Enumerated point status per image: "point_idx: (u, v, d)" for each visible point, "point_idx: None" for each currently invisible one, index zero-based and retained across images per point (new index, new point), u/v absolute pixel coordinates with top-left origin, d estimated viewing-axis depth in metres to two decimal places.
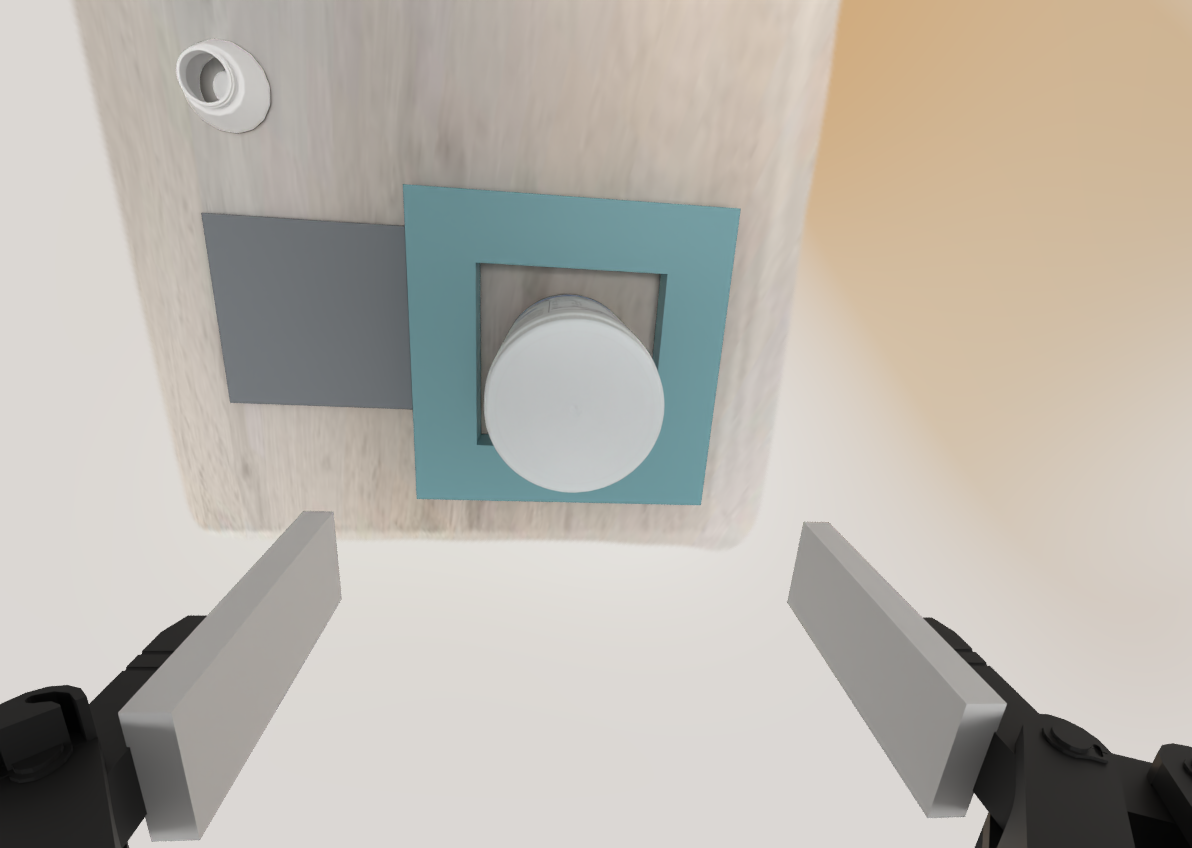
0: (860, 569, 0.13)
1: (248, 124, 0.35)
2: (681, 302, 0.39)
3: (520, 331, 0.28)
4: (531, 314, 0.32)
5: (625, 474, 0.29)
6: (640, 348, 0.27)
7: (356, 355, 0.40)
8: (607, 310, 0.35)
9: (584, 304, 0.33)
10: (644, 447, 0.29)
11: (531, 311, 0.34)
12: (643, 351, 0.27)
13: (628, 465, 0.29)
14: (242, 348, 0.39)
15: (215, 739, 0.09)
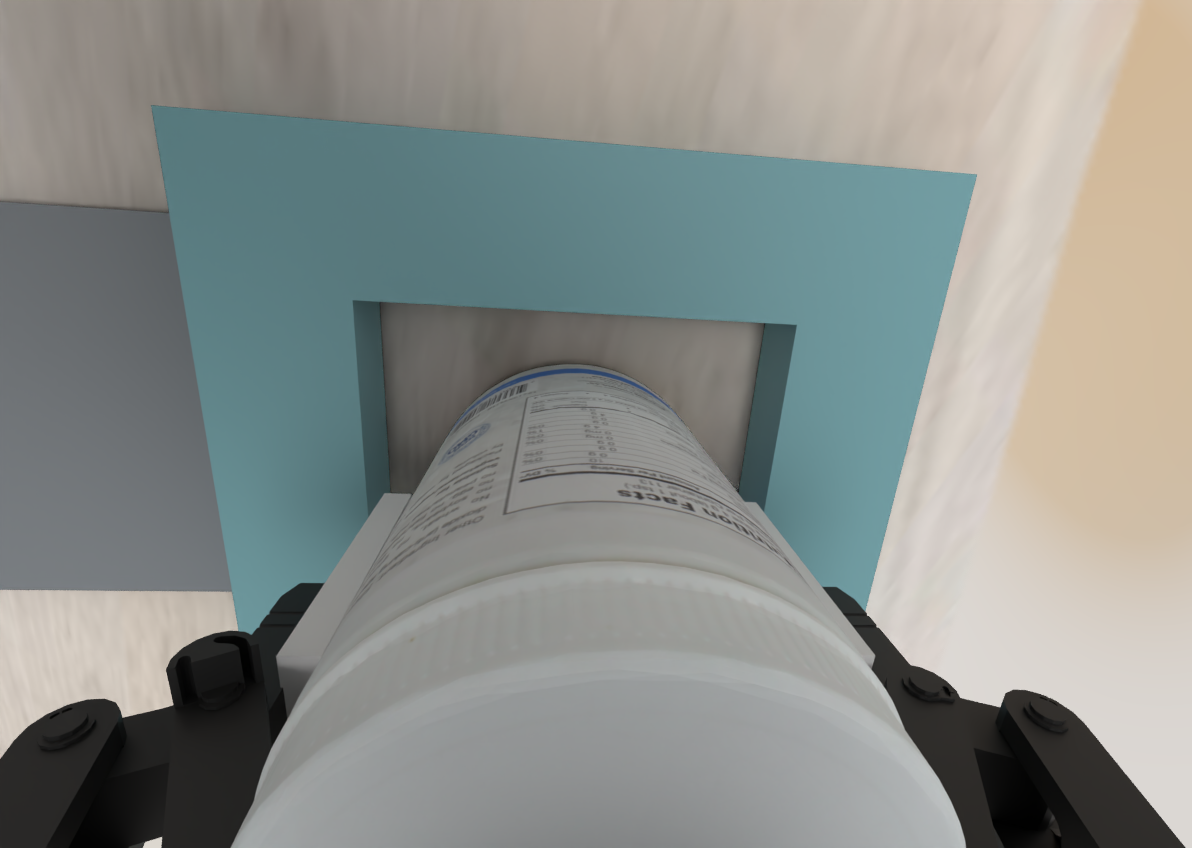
0: None
1: None
2: (822, 385, 0.17)
3: (372, 647, 0.06)
4: (465, 469, 0.11)
5: None
6: (908, 755, 0.06)
7: (118, 492, 0.19)
8: (671, 427, 0.14)
9: (619, 434, 0.11)
10: None
11: (474, 438, 0.13)
12: (919, 764, 0.06)
13: None
14: None
15: None
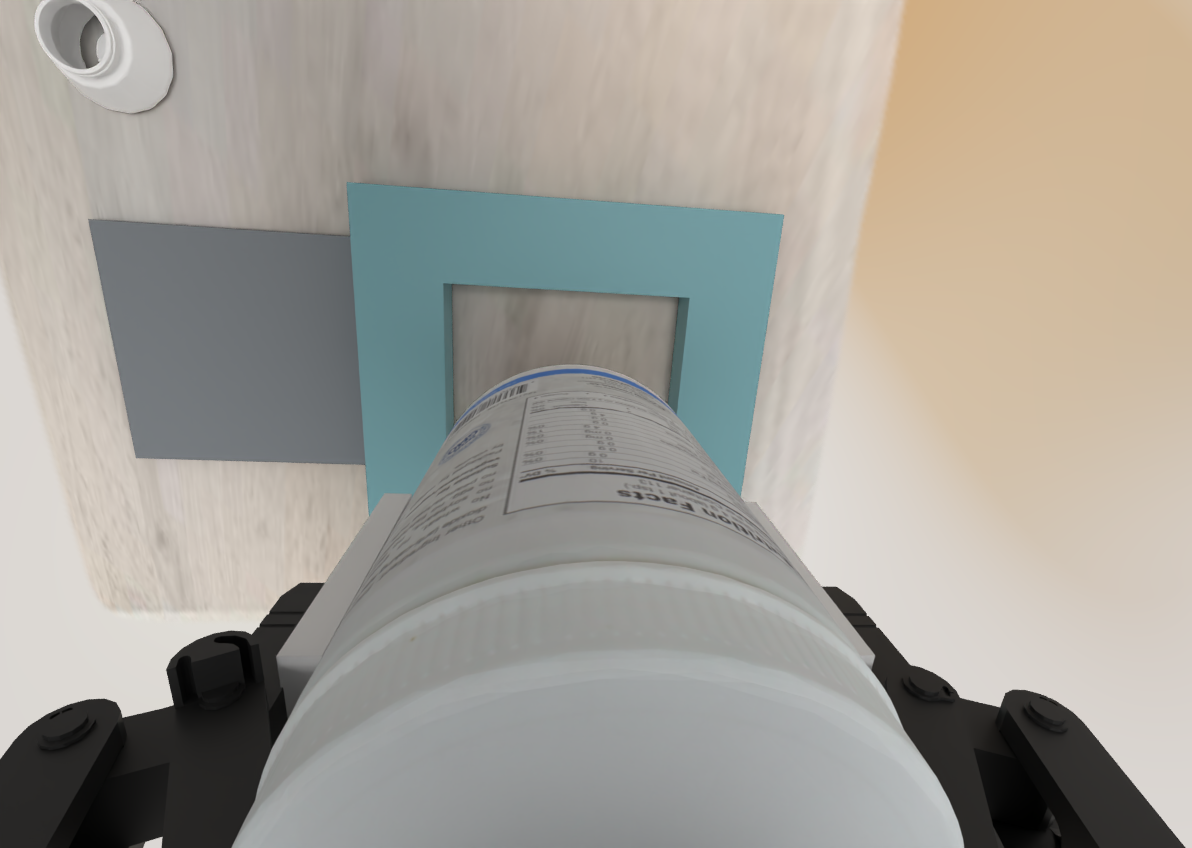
0: None
1: (143, 102, 0.26)
2: (707, 333, 0.30)
3: (373, 647, 0.07)
4: (465, 469, 0.11)
5: None
6: (906, 754, 0.06)
7: (295, 399, 0.32)
8: (671, 427, 0.14)
9: (619, 434, 0.11)
10: None
11: (475, 438, 0.13)
12: (917, 763, 0.06)
13: None
14: (149, 390, 0.31)
15: None
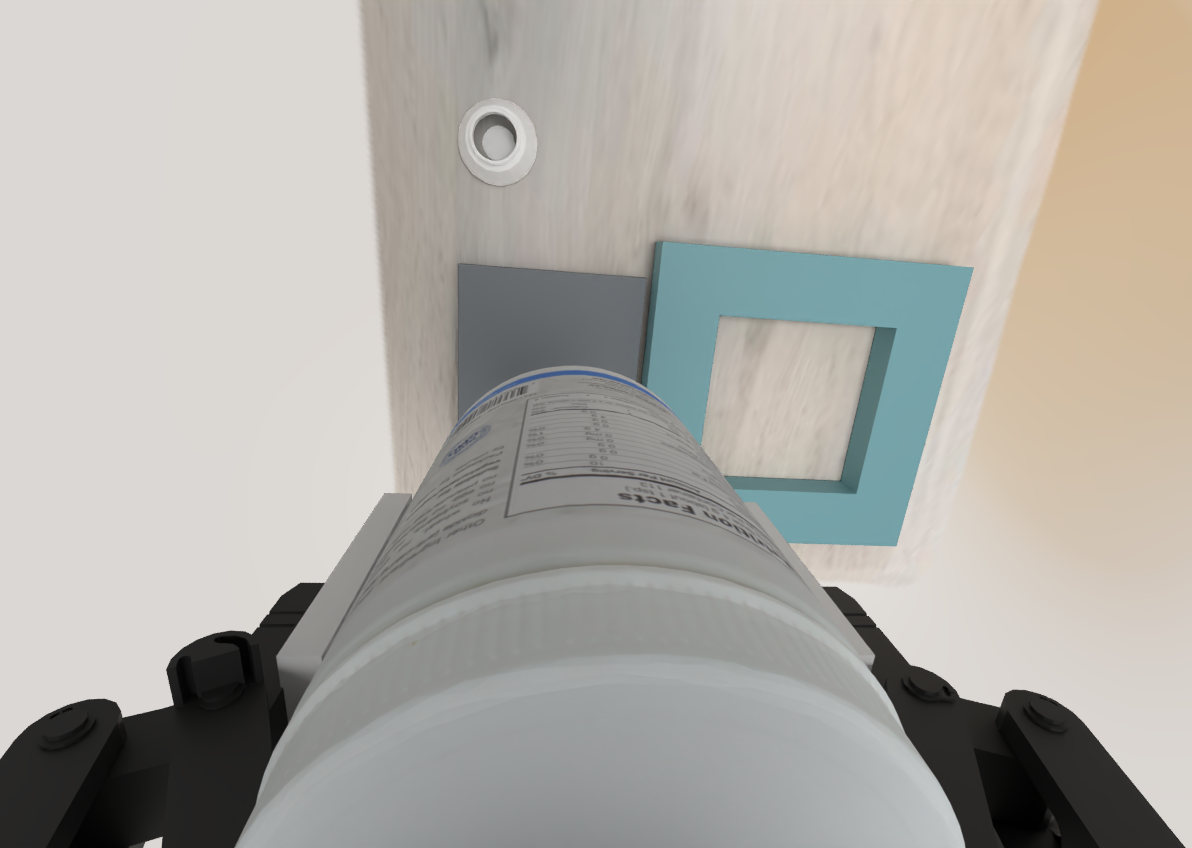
0: None
1: (515, 179, 0.36)
2: (906, 354, 0.40)
3: (374, 651, 0.06)
4: (465, 471, 0.11)
5: None
6: (908, 758, 0.06)
7: None
8: (671, 429, 0.14)
9: (619, 436, 0.11)
10: None
11: (475, 440, 0.13)
12: (918, 768, 0.06)
13: None
14: (477, 392, 0.40)
15: None
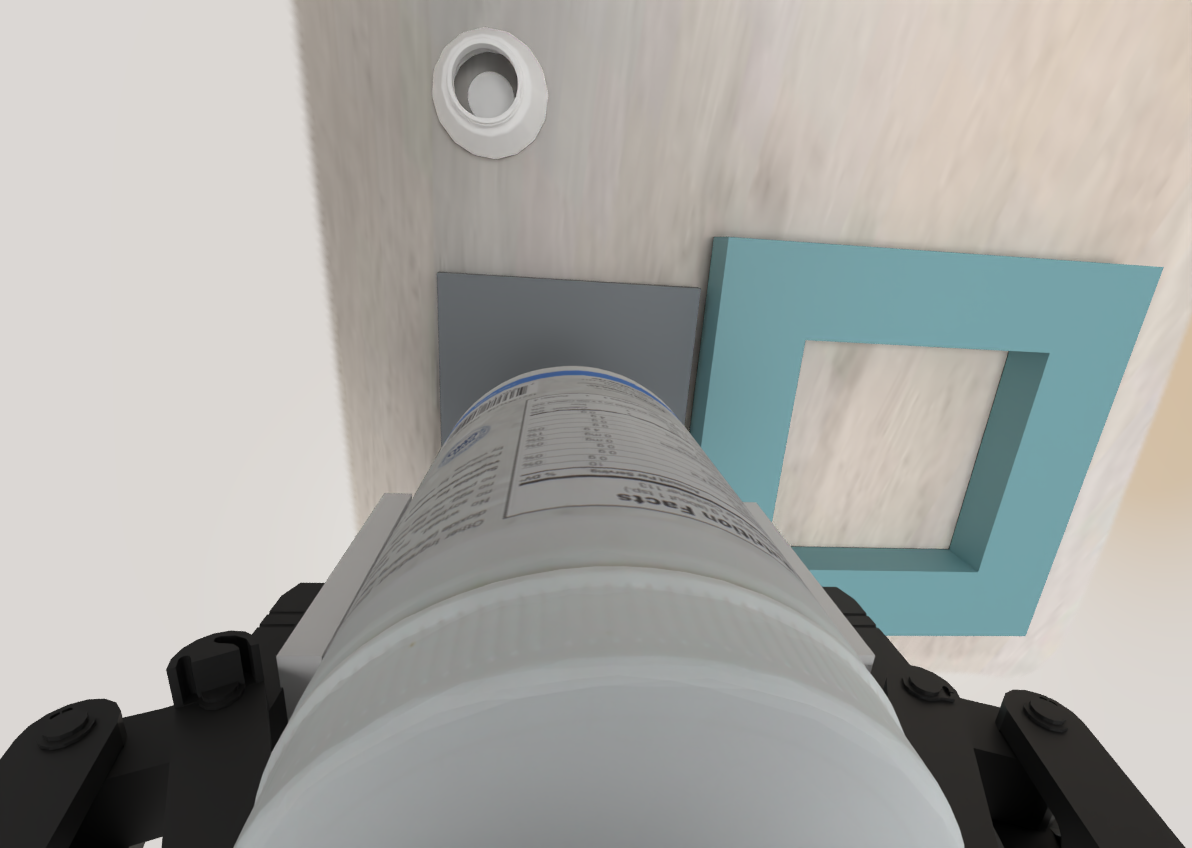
0: (774, 543, 0.14)
1: (517, 148, 0.25)
2: (1059, 388, 0.29)
3: (373, 652, 0.06)
4: (465, 472, 0.11)
5: None
6: (907, 760, 0.06)
7: None
8: (671, 429, 0.14)
9: (619, 437, 0.11)
10: None
11: (474, 441, 0.13)
12: (918, 769, 0.06)
13: None
14: None
15: None
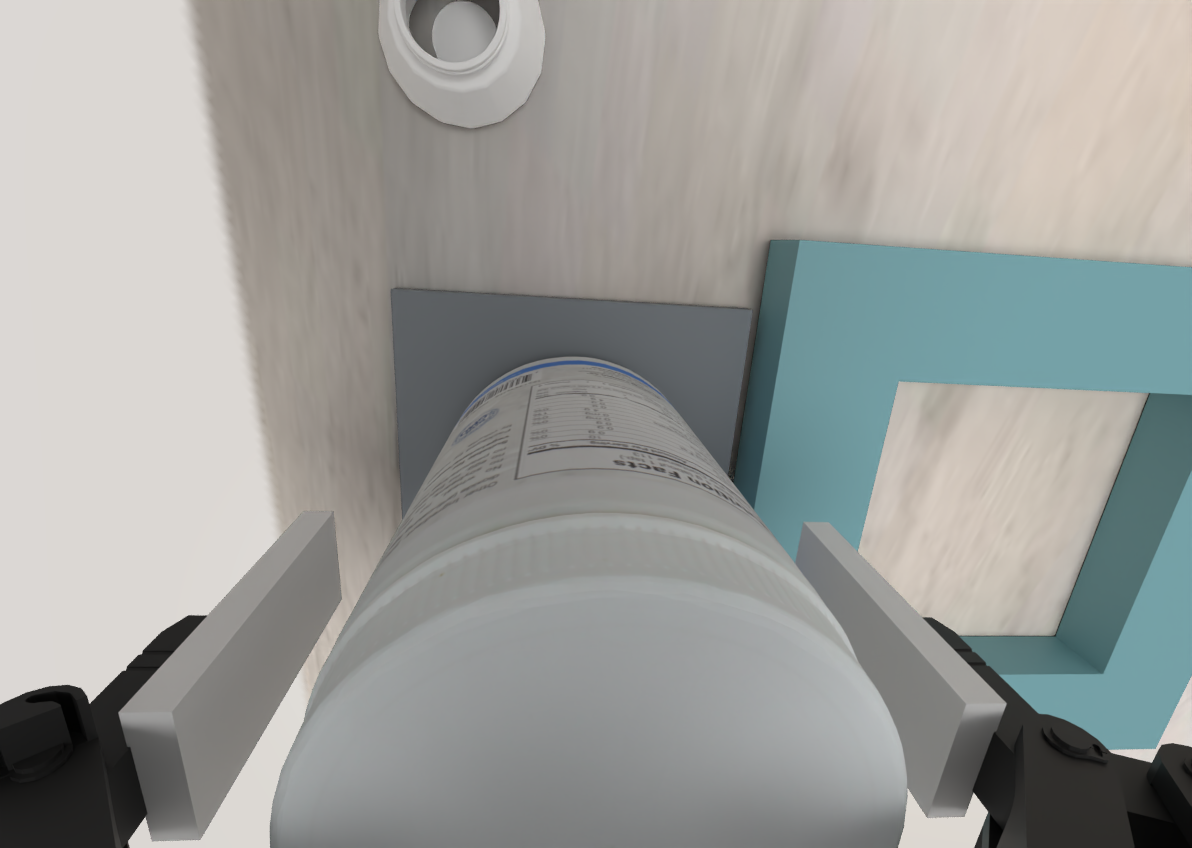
0: (860, 569, 0.13)
1: (501, 112, 0.18)
2: None
3: (407, 583, 0.08)
4: (477, 446, 0.12)
5: None
6: (850, 668, 0.07)
7: None
8: (664, 412, 0.15)
9: (616, 416, 0.13)
10: None
11: (485, 421, 0.14)
12: (859, 676, 0.07)
13: None
14: None
15: (216, 739, 0.09)
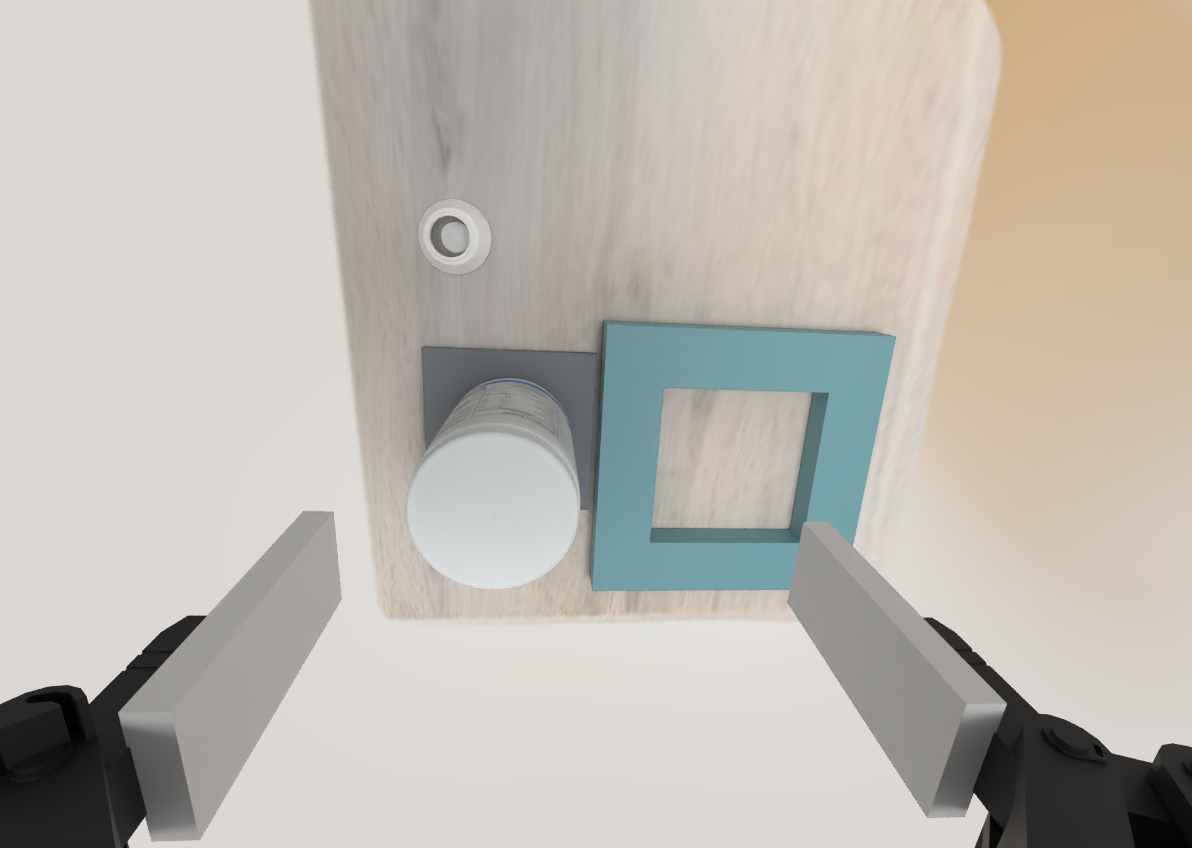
0: (860, 569, 0.13)
1: (472, 269, 0.39)
2: (839, 416, 0.43)
3: (440, 440, 0.29)
4: (461, 412, 0.34)
5: (544, 572, 0.30)
6: (552, 457, 0.29)
7: None
8: (539, 401, 0.37)
9: (512, 401, 0.34)
10: (561, 547, 0.30)
11: (464, 405, 0.36)
12: (555, 460, 0.29)
13: (547, 563, 0.30)
14: None
15: (215, 739, 0.09)
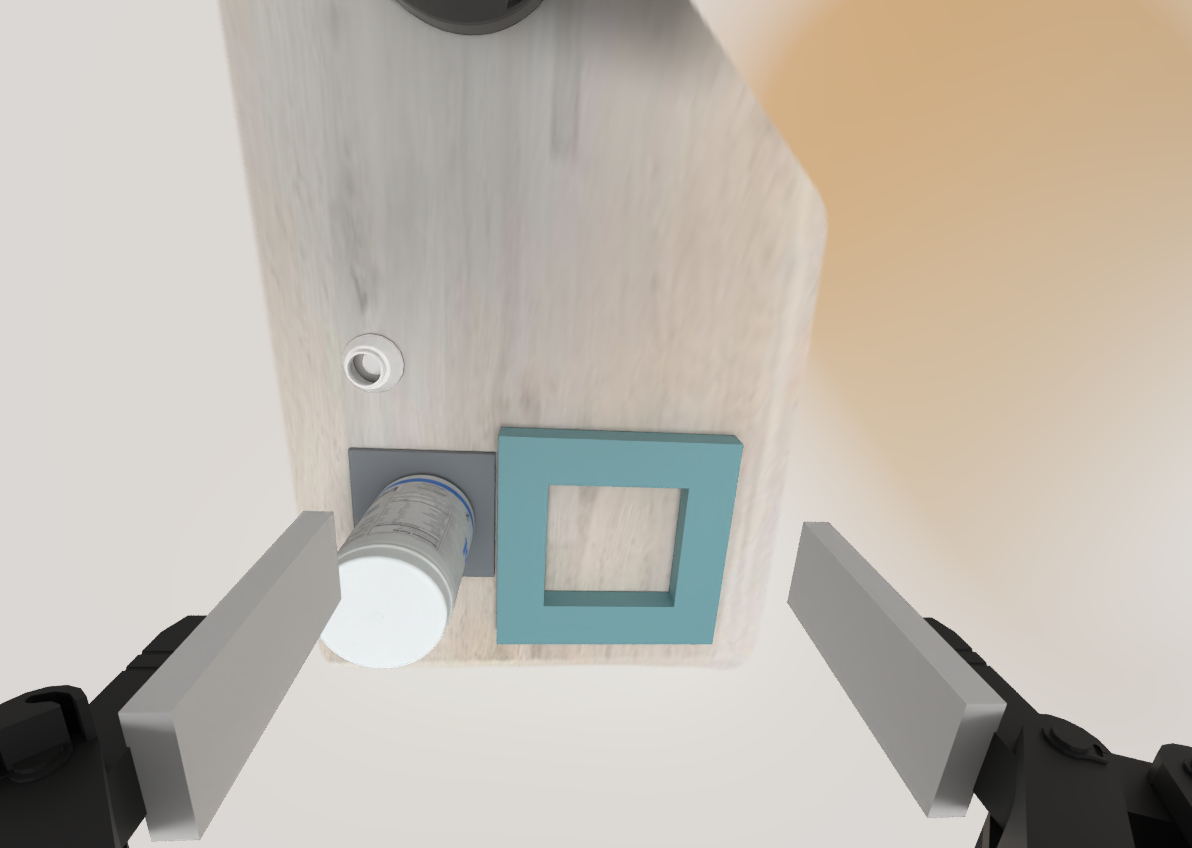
0: (860, 569, 0.13)
1: (387, 389, 0.48)
2: (699, 506, 0.52)
3: (339, 558, 0.38)
4: (366, 521, 0.42)
5: (422, 656, 0.39)
6: (423, 574, 0.37)
7: None
8: (435, 505, 0.45)
9: (408, 511, 0.43)
10: (434, 638, 0.39)
11: (373, 510, 0.44)
12: (426, 576, 0.37)
13: (423, 650, 0.39)
14: None
15: (215, 739, 0.09)
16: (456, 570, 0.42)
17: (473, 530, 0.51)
